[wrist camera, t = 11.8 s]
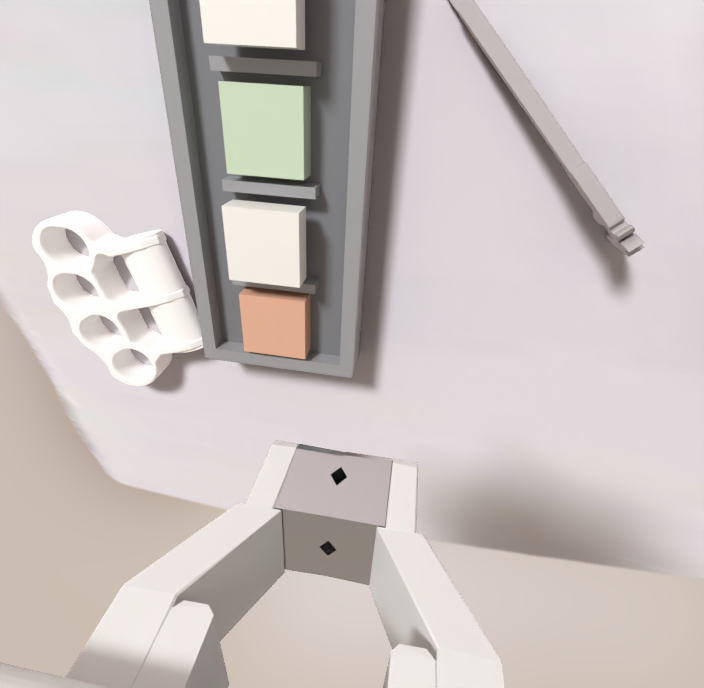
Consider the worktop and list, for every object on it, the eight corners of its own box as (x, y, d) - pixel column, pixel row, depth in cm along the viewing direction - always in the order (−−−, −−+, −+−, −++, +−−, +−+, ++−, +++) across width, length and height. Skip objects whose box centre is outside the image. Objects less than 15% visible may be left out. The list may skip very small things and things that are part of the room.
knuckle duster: (228, 360, 46) (117, 374, 50) (152, 190, 37) (25, 222, 41) (215, 378, 43) (98, 392, 47) (130, 198, 35) (-5, 232, 38)
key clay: (310, 291, 36) (304, 302, 35) (310, 347, 39) (305, 359, 37) (247, 284, 37) (238, 294, 35) (252, 339, 40) (244, 351, 38)
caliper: (620, 230, 33) (656, 258, 28) (605, 239, 33) (638, 268, 28) (459, -18, 27) (465, -44, 22) (444, -2, 28) (447, -24, 22)
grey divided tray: (391, -94, 25) (384, -126, 22) (359, 353, 42) (352, 380, 39) (171, -98, 27) (129, -127, 23) (224, 335, 44) (205, 359, 40)
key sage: (310, 86, 28) (303, 86, 27) (310, 175, 31) (303, 180, 30) (230, 81, 29) (218, 80, 27) (237, 168, 32) (227, 173, 30)
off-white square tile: (305, 206, 31) (298, 213, 29) (306, 277, 34) (299, 287, 32) (232, 199, 32) (221, 205, 30) (239, 270, 35) (229, 279, 33)
